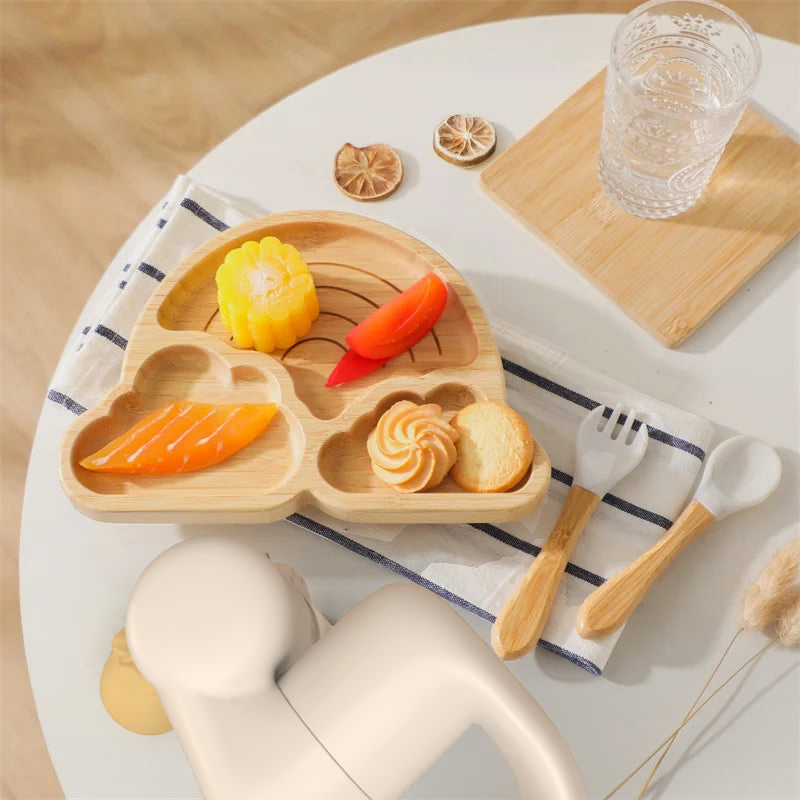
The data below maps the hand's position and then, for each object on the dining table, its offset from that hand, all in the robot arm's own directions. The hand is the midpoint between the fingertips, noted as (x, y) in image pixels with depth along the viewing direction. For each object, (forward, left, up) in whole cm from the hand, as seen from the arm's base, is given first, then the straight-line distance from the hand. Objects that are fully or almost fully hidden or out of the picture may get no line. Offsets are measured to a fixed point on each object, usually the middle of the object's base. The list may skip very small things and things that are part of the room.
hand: (296, 663), depth 68 cm
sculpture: (+7, +21, -42) cm, 47 cm away
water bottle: (+6, +3, -42) cm, 43 cm away
